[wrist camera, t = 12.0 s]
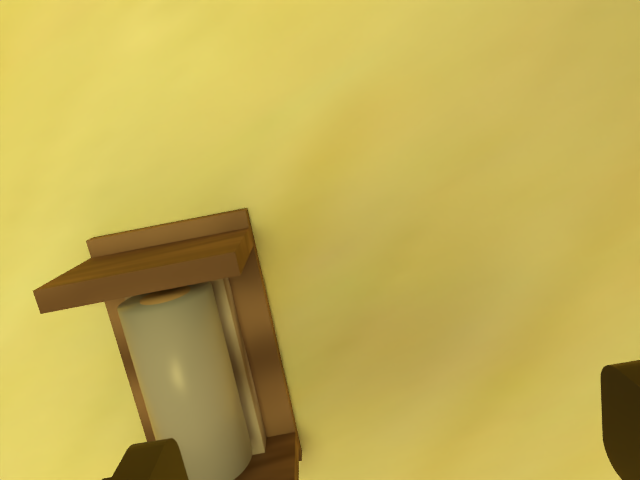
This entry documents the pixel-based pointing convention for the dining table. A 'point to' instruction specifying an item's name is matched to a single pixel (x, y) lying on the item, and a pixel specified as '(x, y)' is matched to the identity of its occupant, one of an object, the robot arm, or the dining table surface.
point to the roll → (188, 378)
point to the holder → (233, 306)
